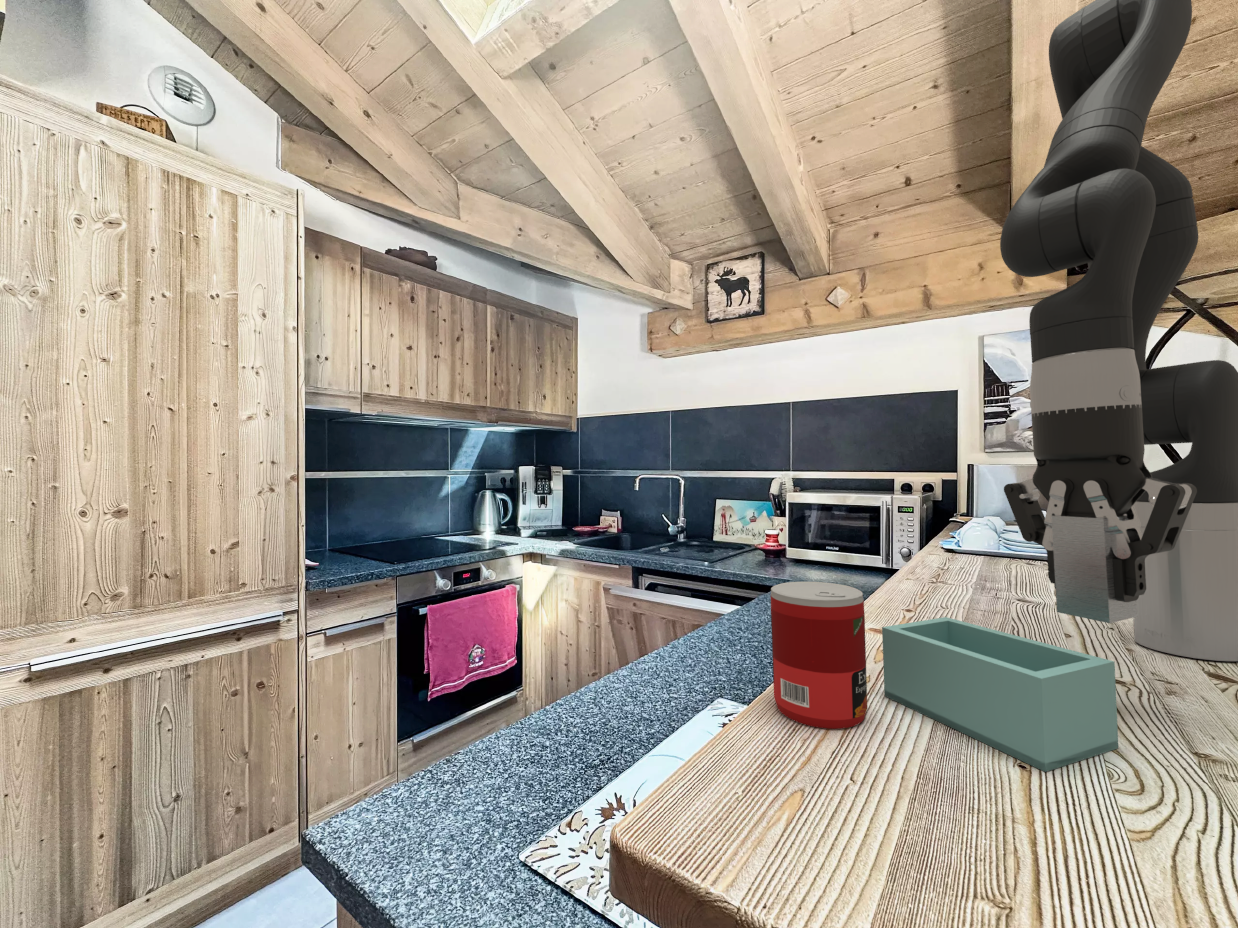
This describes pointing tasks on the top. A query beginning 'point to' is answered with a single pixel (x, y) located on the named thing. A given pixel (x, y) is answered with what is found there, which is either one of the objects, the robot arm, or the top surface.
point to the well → (1004, 689)
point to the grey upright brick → (1086, 570)
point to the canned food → (819, 653)
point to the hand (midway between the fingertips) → (1094, 593)
